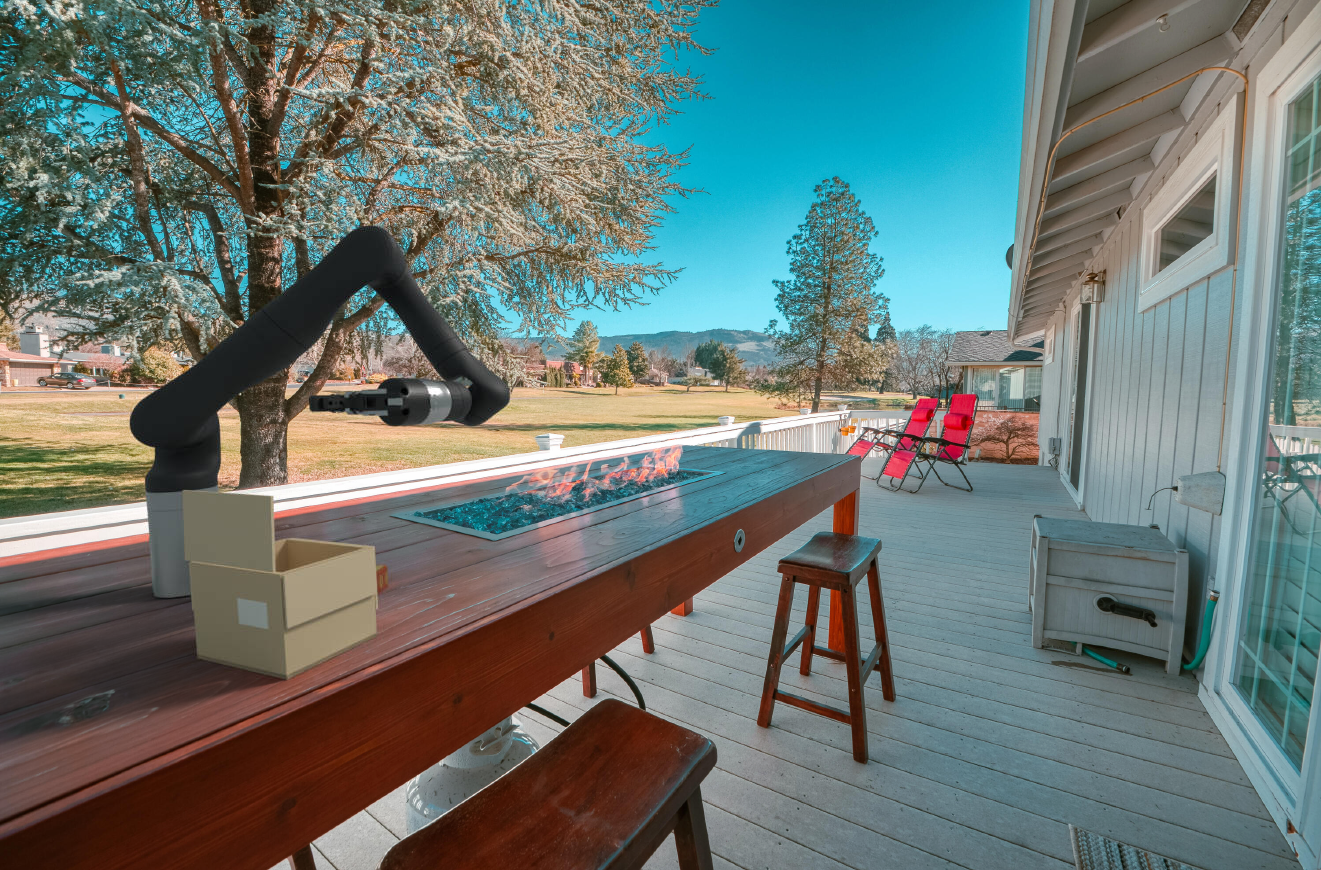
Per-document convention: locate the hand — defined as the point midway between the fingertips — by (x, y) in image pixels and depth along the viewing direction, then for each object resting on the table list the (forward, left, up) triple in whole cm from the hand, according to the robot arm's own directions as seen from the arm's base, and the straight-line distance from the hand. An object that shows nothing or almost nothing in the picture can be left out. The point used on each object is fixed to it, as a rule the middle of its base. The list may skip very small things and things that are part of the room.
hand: (313, 403), depth 73 cm
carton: (-13, +10, -31) cm, 35 cm away
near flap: (0, -11, -14) cm, 18 cm away
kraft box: (0, -5, -31) cm, 31 cm away
